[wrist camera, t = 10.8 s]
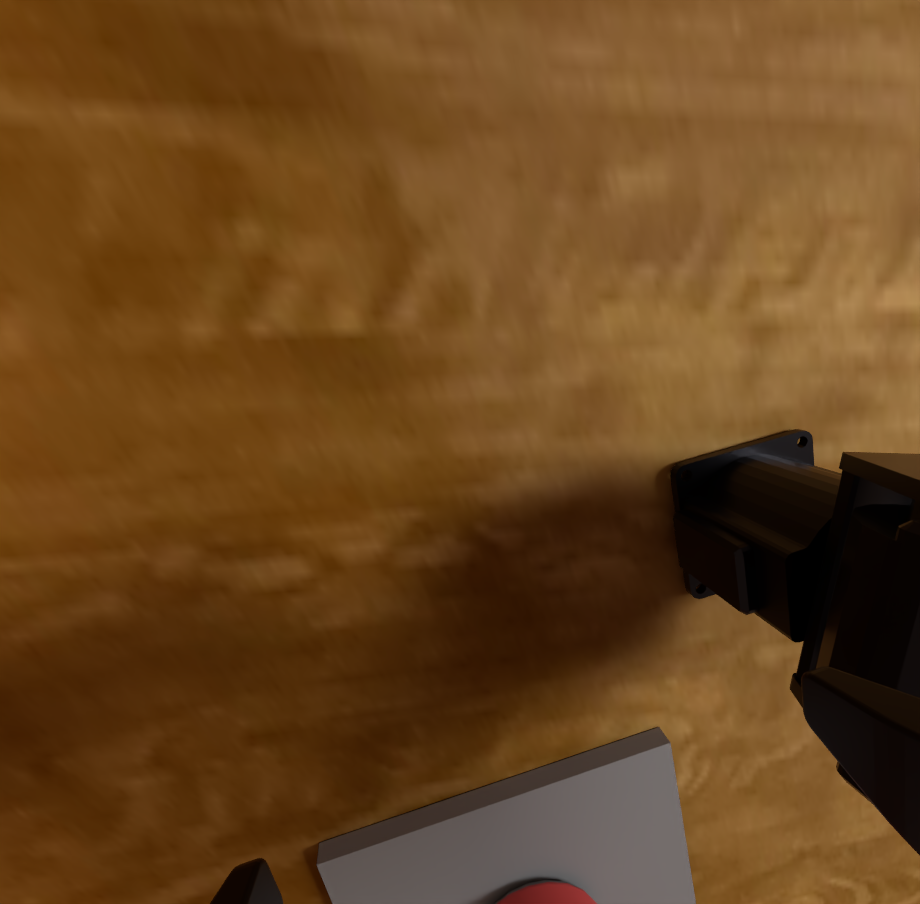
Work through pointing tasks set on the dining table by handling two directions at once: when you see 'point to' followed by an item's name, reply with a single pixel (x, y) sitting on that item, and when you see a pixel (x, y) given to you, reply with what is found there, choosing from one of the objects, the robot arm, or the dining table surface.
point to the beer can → (547, 894)
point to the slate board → (530, 836)
